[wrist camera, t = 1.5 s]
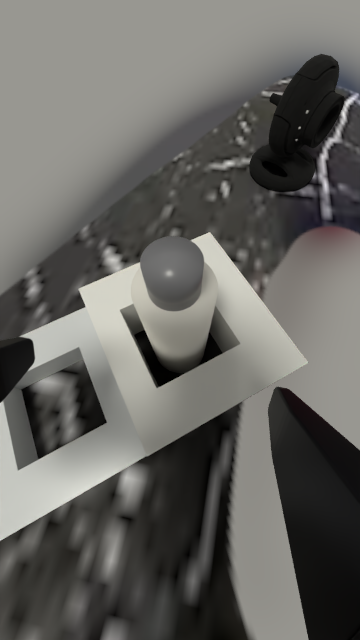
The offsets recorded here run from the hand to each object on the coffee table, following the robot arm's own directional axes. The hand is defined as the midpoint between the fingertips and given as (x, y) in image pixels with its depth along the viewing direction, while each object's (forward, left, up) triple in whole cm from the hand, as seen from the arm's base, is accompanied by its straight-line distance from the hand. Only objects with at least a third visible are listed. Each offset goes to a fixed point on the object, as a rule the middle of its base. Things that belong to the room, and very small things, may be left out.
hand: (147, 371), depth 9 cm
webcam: (+17, -24, -11) cm, 32 cm away
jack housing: (+3, +2, -11) cm, 12 cm away
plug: (+3, -3, -11) cm, 12 cm away
